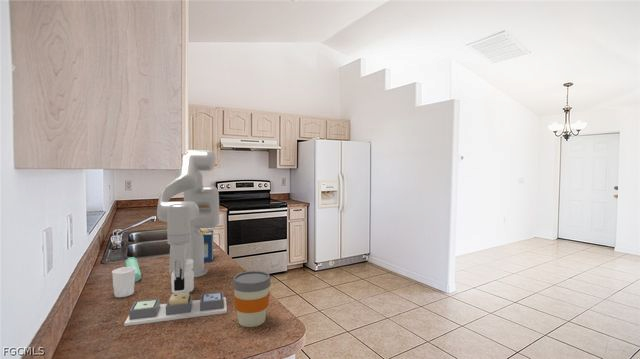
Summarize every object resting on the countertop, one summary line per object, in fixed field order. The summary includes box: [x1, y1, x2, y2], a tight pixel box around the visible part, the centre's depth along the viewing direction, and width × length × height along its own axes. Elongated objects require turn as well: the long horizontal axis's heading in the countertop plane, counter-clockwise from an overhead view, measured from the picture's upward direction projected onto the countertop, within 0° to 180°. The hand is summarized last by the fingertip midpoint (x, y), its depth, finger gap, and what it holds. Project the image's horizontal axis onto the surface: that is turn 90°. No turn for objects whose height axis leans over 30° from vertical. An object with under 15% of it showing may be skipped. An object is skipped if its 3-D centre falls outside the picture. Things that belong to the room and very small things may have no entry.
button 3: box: [203, 293, 221, 302], centre depth 117 cm, size 6×6×3 cm
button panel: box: [123, 291, 228, 327], centre depth 114 cm, size 12×32×4 cm, turn 108°
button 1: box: [133, 300, 156, 310], centre depth 110 cm, size 6×6×3 cm
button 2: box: [169, 292, 190, 306], centre depth 114 cm, size 6×6×3 cm
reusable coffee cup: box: [232, 270, 271, 328], centre depth 108 cm, size 13×13×15 cm
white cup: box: [111, 266, 136, 298], centre depth 128 cm, size 8×8×10 cm
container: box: [124, 256, 142, 283], centre depth 151 cm, size 6×6×25 cm
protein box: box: [199, 229, 214, 263], centre depth 175 cm, size 10×15×16 cm
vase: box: [170, 259, 195, 294], centre depth 133 cm, size 9×9×12 cm
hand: (179, 289), depth 113 cm, fingers closed
